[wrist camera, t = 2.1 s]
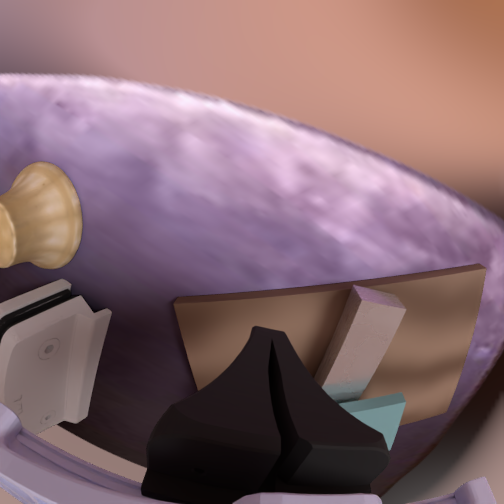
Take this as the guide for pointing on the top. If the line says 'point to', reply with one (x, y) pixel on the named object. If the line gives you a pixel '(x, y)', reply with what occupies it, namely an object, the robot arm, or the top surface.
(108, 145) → the top surface
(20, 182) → the hand bell
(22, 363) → the hinge
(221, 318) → the base plate
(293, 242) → the top surface
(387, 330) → the link
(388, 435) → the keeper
